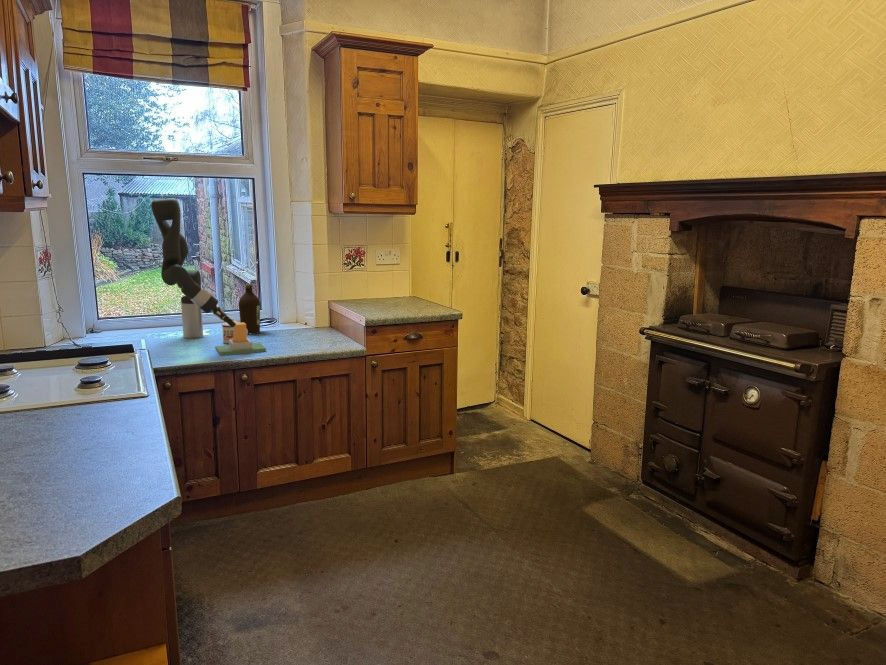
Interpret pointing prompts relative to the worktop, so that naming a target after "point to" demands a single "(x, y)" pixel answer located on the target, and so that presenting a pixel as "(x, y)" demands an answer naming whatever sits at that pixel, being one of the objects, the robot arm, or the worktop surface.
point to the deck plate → (240, 348)
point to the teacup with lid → (228, 331)
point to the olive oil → (250, 310)
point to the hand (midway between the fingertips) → (232, 324)
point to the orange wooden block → (239, 332)
